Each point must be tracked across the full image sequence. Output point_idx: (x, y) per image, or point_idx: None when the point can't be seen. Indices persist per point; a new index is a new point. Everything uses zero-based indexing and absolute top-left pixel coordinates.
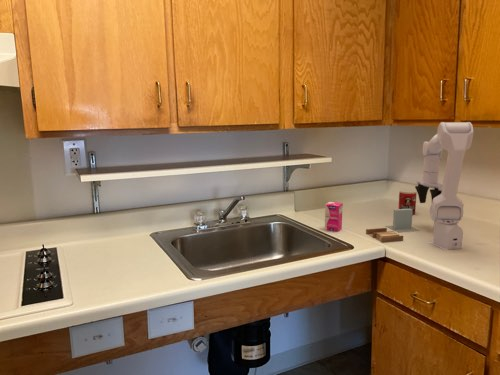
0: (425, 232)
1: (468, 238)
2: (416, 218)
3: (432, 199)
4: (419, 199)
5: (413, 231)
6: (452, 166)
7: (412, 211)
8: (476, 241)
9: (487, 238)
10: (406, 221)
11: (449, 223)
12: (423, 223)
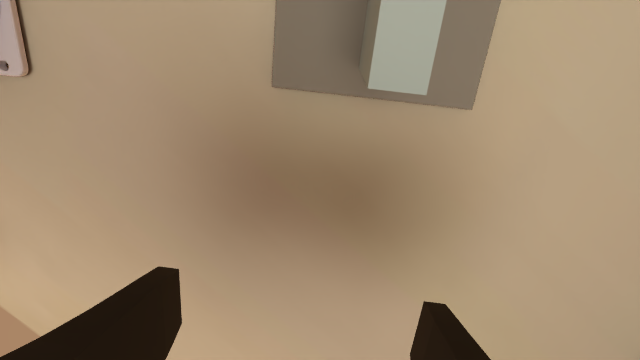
0: (261, 117)
1: (86, 255)
2: (579, 322)
3: (74, 333)
4: (465, 335)
5: (275, 12)
6: None
7: (367, 84)
8: (29, 248)
9: None
10: (371, 3)
11: None
12: (454, 271)
